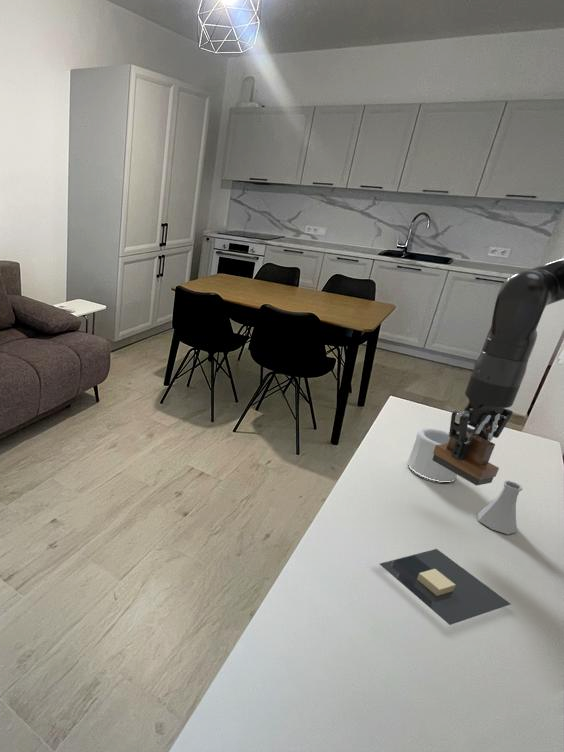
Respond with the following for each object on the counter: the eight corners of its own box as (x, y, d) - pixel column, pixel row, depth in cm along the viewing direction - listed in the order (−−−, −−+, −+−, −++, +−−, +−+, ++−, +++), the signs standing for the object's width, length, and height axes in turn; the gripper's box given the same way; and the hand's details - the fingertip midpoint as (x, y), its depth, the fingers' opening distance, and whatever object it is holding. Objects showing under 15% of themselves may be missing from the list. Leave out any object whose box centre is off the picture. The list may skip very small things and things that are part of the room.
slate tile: (435, 552, 97) (436, 548, 96) (509, 608, 85) (511, 603, 84) (377, 567, 92) (379, 563, 91) (447, 629, 79) (449, 624, 79)
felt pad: (432, 574, 89) (435, 568, 89) (453, 591, 86) (456, 584, 85) (416, 579, 88) (419, 572, 88) (436, 596, 85) (439, 589, 84)
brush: (446, 457, 105) (458, 423, 102) (493, 483, 96) (507, 447, 93) (430, 459, 103) (442, 425, 101) (476, 486, 95) (491, 450, 92)
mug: (444, 489, 119) (458, 452, 115) (398, 467, 127) (410, 433, 123) (466, 473, 126) (480, 439, 123) (422, 454, 134) (434, 421, 131)
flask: (471, 521, 107) (488, 482, 104) (481, 509, 112) (497, 471, 108) (511, 539, 102) (530, 499, 99) (520, 526, 107) (538, 487, 103)
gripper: (489, 388, 87) (458, 471, 93) (542, 382, 92) (509, 462, 98) (450, 372, 93) (423, 451, 100) (501, 368, 98) (473, 444, 104)
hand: (466, 456), depth 99 cm, fingers closed on brush, 4 cm apart
